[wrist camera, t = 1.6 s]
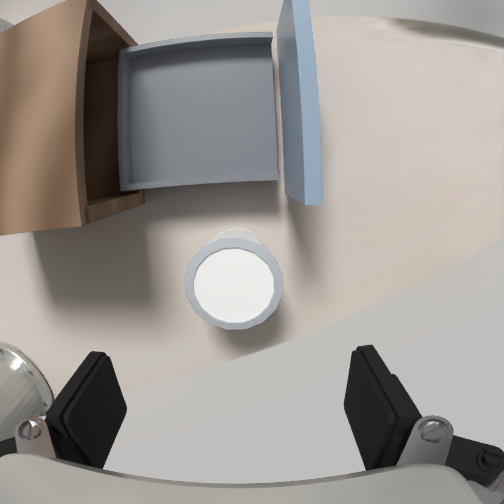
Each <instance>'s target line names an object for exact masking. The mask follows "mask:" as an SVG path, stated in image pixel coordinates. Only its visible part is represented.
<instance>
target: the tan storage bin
mask: <svg viewBox="0 0 504 504" xmlns="http://www.w3.org/2000/svg"><path fill="white" fill-rule="evenodd" d="M137 45H138V44H137V43H136V42H135V41H134V40H133V39H132V37H131V36H130V35H129V34H128V33H127V32H126V31H125V30H124V29H123V28H122V27H121V25H120V24H119V23H118V22H117V21H116V20H115V19H114V18H113V17H112V16H111V15H110V14H109V13H108V12H107V11H106V10H105V9H104V7H103V6H102V5H101V4H100V3H99V2H98V1H97V0H67V1H64V2H62V3H59V4H57V5H55V6H53V7H50V8H48V9H46V10H44V11H42V12H39V13H37V14H36V15H33V16H31V17H29V18H27V19H25V20H24V21H22V22H20V23H18V24H16V25H14V26H12V27H11V28H9V29H7V30H5V31H4V32H2V33H0V235H8V234H16V233H25V232H33V231H42V230H51V229H60V228H70V227H80V226H84V225H86V224H89V223H91V222H94V221H96V220H99V219H102V218H104V217H107V216H110V215H112V214H115V213H118V212H121V211H123V210H126V209H129V208H132V207H135V206H137V205H140V204H143V203H144V196H143V189H137V190H128V191H120V177H119V160H118V129H117V97H118V68H119V51H120V49H124V48H128V47H132V46H137Z"/></svg>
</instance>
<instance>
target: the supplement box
mask: <svg viewBox="0 0 504 504" xmlns="http://www.w3.org/2000/svg"><path fill="white" fill-rule="evenodd" d="M12 26H14V25H13V24H12V23H10V22H8V21H6V20H4V19H2V18H0V33H2V32H4V31H5V30H7V29H9V28H11V27H12Z"/></svg>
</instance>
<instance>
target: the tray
mask: <svg viewBox="0 0 504 504" xmlns="http://www.w3.org/2000/svg"><path fill="white" fill-rule="evenodd" d="M276 33H277V46H278V61H279V76H280V92H281V110H282V130H283V153H284V181H285V194H286V195H288V196H290V197H292V198H293V199H295V200H297V201H299V202H300V203H302V204H304V205H323V193H322V154H321V131H320V113H319V97H318V84H317V72H316V61H315V51H314V41H313V32H312V24H311V16H310V9H309V2H308V0H284V2H283V6H282V10H281V14H280V19H279V23H278V27H277V31H276ZM272 38H273V33H272V32H242V33H224V34H211V35H201V36H192V37H184V38H176V39H170V40H164V41H158V42H153V43H147V44H142V45H137V46H132V47H128V48H124V49H120V51H119V68H118V97H117V129H118V160H119V177H120V191H128V190H137V189H147V188H157V187H168V186H180V185H192V184H207V183H223V182H242V181H267V180H280V173H278V169H277V144H276V122H275V102H274V84H273V67H272V51H271V43H272Z"/></svg>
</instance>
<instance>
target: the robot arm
mask: <svg viewBox="0 0 504 504" xmlns="http://www.w3.org/2000/svg"><path fill="white" fill-rule="evenodd" d="M344 409H345V413H346V415H347V418H348V421H349V424H350V426H351V429H352V432H353V435H354V437H355V440H356V443H357V446H358V449H359V452H360V455H361V457H362V460H363V463H364V466H365V469H366V471H362V472H357V473H351V474H346V475H339V476H332V477H326V478H317V479H310V480H301V481H290V482H276V483H256V484H216V483H196V482H183V481H171V480H163V479H155V478H148V477H141V476H135V475H128V474H123V473H118V472H113V471H108V470H104V469H103V467H104V465H105V462H106V460H107V457H108V455H109V452H110V450H111V448H112V445H113V443H114V440H115V438H116V436H117V433H118V431H119V429H120V427H121V424H122V422H123V420H124V417H125V415H126V412H127V406H126V403H125V400H124V398H123V395H122V392H121V389H120V386H119V383H118V380H117V377H116V374H115V371H114V368H113V365H112V362H111V359H110V357H109V356H107V355H106V353H104V352H95V351H92V352H90V353H89V354H88V356H87V357H86V358H85V360H84V361H83V362H82V364H81V365H80V366H79V368H78V369H77V370H76V372H75V373H74V374H73V376H72V377H71V378H70V380H69V381H68V382H67V384H66V385H65V387H64V388H63V389H62V391H61V392H60V394H59V395H58V396H57V398H56V399H55V401H54V402H53V400H52V395H51V392H50V389H49V387H48V385H47V383H46V381H45V379H44V378H43V376H42V375H41V373H40V372H39V371H38V369H37V368H36V367H35V366H34V365H33V363H32V362H31V361H30V360H29V359H28V358H27V357H25V356H24V355H23V354H22V353H21V352H19V351H18V350H16V349H15V348H13V347H11V346H9V345H6V344H0V504H504V452H503V451H502V450H501V449H500V448H498V447H496V446H492V445H488V444H484V443H480V442H477V441H472V440H469V439H465V438H462V437H458V436H455V435H453V431H454V430H453V427H452V425H451V424H450V422H449V421H448V420H446V419H445V418H442V417H440V416H434V415H431V416H425V417H422V415H421V414H420V412H419V411H418V409H417V407H416V406H415V404H414V403H413V401H412V399H411V398H410V396H409V395H408V393H407V392H406V390H405V388H404V387H403V385H402V384H401V382H400V381H399V379H398V377H397V376H396V375H395V374H391V373H390V371H389V370H388V368H387V366H386V365H385V363H384V362H383V360H382V359H381V357H380V356H379V354H378V353H377V351H376V349H375V348H374V346H373V345H365V346H358V347H357V349H356V350H355V351H353V352H352V355H351V362H350V369H349V376H348V382H347V387H346V394H345V399H344ZM45 415H46V418H45V420H43V419H42V418H39V416H45Z"/></svg>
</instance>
